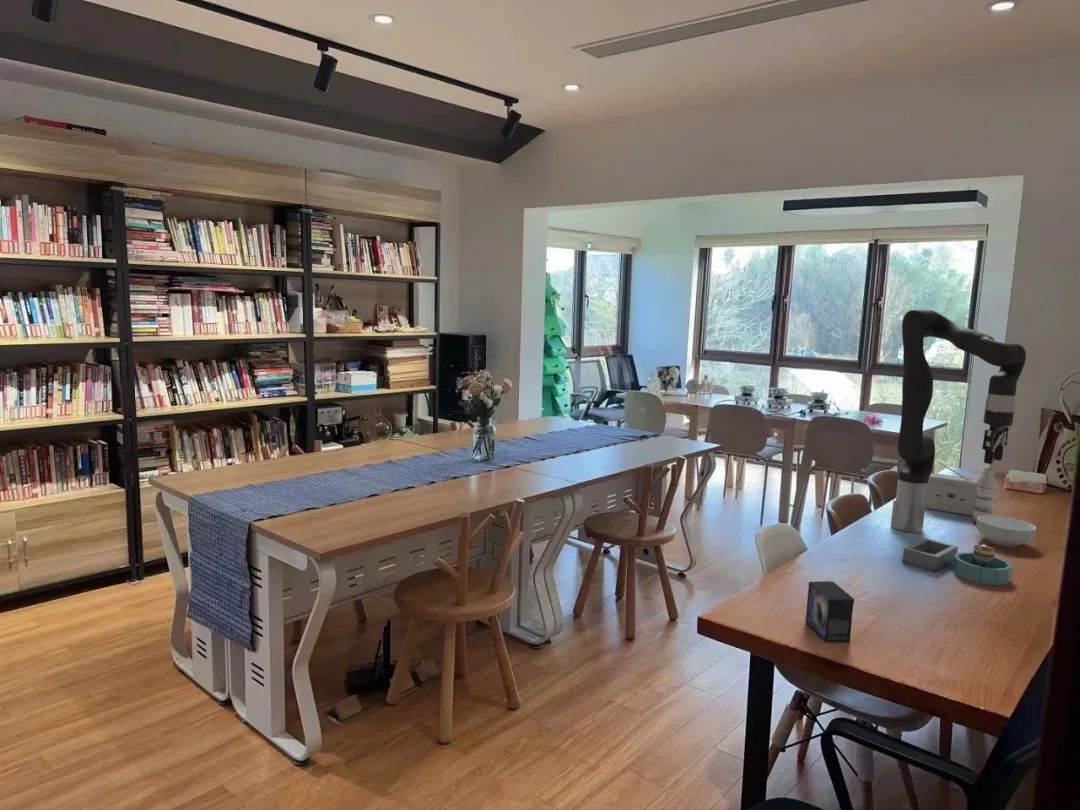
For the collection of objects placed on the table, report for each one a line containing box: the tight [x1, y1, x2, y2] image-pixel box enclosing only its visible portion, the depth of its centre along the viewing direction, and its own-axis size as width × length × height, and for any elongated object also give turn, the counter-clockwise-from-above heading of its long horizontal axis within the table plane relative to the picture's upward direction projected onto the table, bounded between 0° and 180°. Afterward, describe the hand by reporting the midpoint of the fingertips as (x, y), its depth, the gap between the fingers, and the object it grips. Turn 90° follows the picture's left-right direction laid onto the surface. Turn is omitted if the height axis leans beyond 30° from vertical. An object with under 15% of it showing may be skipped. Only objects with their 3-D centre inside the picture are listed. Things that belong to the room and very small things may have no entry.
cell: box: [972, 544, 996, 568], centre depth 212 cm, size 5×5×8 cm
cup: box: [951, 551, 1013, 586], centre depth 212 cm, size 14×14×4 cm
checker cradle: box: [902, 537, 959, 573], centre depth 222 cm, size 10×16×4 cm, turn 132°
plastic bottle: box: [972, 467, 999, 523], centre depth 263 cm, size 6×7×20 cm
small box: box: [805, 580, 855, 643], centre depth 171 cm, size 11×6×10 cm, turn 5°
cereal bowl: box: [975, 515, 1037, 548], centre depth 244 cm, size 17×17×7 cm
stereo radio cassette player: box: [925, 458, 979, 517], centre depth 279 cm, size 21×8×20 cm, turn 58°
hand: (992, 461), depth 225 cm, fingers open, 8 cm apart
